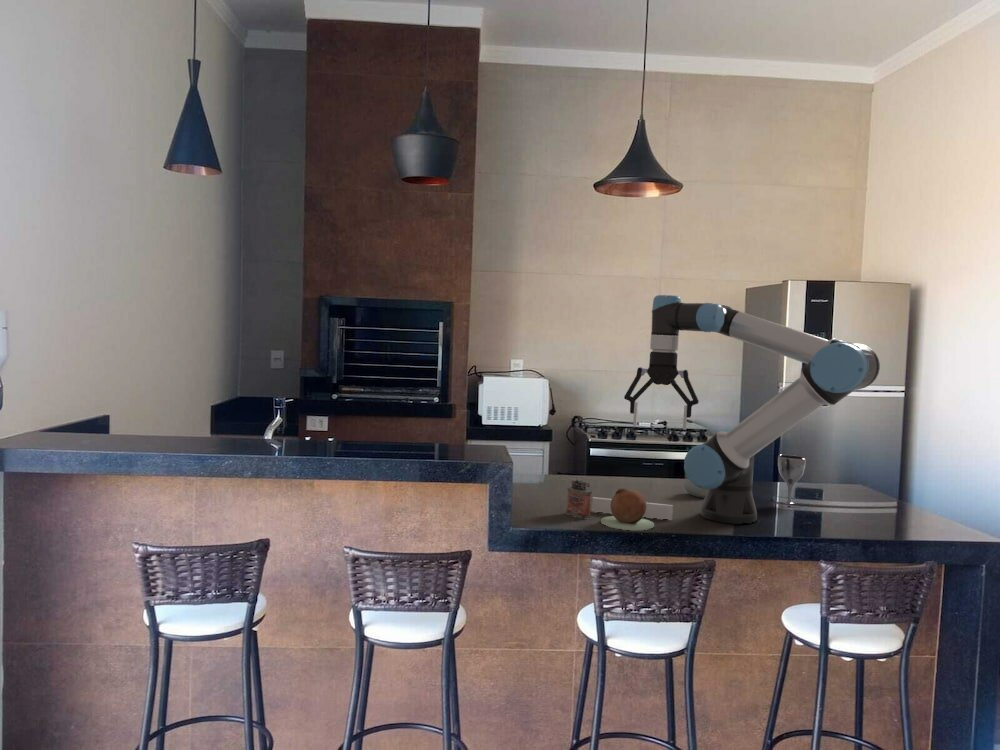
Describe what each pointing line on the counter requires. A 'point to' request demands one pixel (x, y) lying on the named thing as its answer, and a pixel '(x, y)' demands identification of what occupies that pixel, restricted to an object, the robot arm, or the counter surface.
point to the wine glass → (791, 470)
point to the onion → (628, 506)
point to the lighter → (579, 499)
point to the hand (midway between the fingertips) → (659, 427)
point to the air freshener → (695, 490)
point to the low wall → (651, 512)
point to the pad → (627, 524)
